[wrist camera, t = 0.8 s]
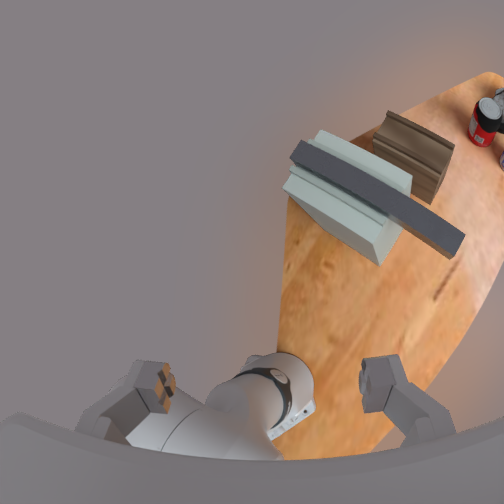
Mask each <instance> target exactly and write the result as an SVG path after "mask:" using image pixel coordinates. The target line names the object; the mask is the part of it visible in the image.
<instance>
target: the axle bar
mask: <svg viewBox="0 0 504 504" xmlns="http://www.w3.org/2000/svg"><path fill="white" fill-rule="evenodd" d="M290 159H291V160H292V161H293V162H294V163H295V165H296V166H297V167H299V168H301V169H303V170H305V171H307V172H309V173H310V174H312V175H314V176H316V177H318V178H320V179H322V180H323V181H325V182H327V183H329V184H331V185H332V186H334V187H336V188H338V189H339V190H341V191H343V192H345V193H346V194H348V195H350V196H352V197H353V198H355V199H357V200H358V201H360V202H362V203H363V204H365V205H367V206H368V207H370V208H372V209H373V210H375V211H377V212H378V213H380V214H382V215H383V216H385V217H386V218H388V219H390V220H391V221H393V222H394V223H396V224H397V225H399V226H401V227H402V228H404V229H405V230H407V231H408V232H410V233H411V234H413V235H414V236H416V237H417V238H419V239H420V240H422V241H423V242H425V243H426V244H428V245H429V246H431V247H432V248H434V249H435V250H436V251H438V252H439V253H441V254H442V255H444V256H445V257H446V258H448V259H449V260H450V259H451V258H453V257H454V256H455V254H456V252H457V250H458V249H459V247H460V245H461V243H462V241H463V239H464V237H465V234H464V233H463V232H461V231H460V230H458V229H457V228H455V227H454V226H453V225H451V224H450V223H448V222H447V221H445V220H444V219H442V218H441V217H439V216H438V215H436V214H435V213H433V212H432V211H430V210H428V209H427V208H425V207H424V206H422V205H421V204H419V203H417V202H416V201H414V200H413V199H411V198H409V197H408V196H406V195H404V194H403V193H401V192H399V191H398V190H396V189H394V188H393V187H391V186H389V185H387V184H386V183H384V182H382V181H380V180H379V179H377V178H375V177H373V176H371V175H370V174H368V173H366V172H364V171H362V170H360V169H359V168H357V167H355V166H353V165H351V164H349V163H347V162H345V161H343V160H341V159H339V158H337V157H335V156H333V155H331V154H329V153H327V152H325V151H323V150H321V149H319V148H317V147H315V146H313V145H311V144H309V143H307V142H305V141H302V140H301V141H300V143H299V144H298V146H297V147H296V149H295V150H294V152H293V153H292V155H291V156H290Z"/></svg>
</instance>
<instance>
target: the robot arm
mask: <svg viewBox="0 0 504 504" xmlns="http://www.w3.org/2000/svg"><path fill="white" fill-rule="evenodd" d="M361 366H362V370H361V371H360V374H359V389H360V393H361V394H362V395H363V398H362V405H363V410H364V413H372V412H380V411H383V412H384V413H385V414H386V416H387V417H388V418H389V419H390V420H391V421H392V422H393V423H394V424H395V425H396V426H397V427H398V428H399V429H400V430H401V431H402V432H403V433H404V435H405V436H406V438H405V440H404V441H403V443H402V444H401V446H400V448H396V449H391V450H385V451H379V452H373V453H366V454H359V455H352V456H343V457H333V458H322V459H306V460H284V457H283V454H282V453H281V452H280V451H279V450H278V449H277V448H276V447H275V446H274V444H273V443H272V442H271V441H272V440H273V439H275V438H276V437H278V436H280V435H281V434H283V433H284V432H285V431H287V430H289V429H290V428H291V427H293V426H294V425H296V424H297V423H299V422H300V421H302V420H303V419H305V418H306V417H307V416H309V415H310V414H312V413H313V412H314V411H315V410H316V405H315V401H314V398H313V389H314V383H313V378H312V375H311V372H310V370H309V369H308V367H307V366H306V365H305V364H304V363H303V362H302V361H301V360H300V359H299V358H297V357H295V356H293V355H291V354H287V353H273V354H269V355H266V356H259V355H252V356H250V357H249V358H248V360H247V361H246V364H245V365H244V366H243V367H242V368H241V372H240V373H239V374H238V375H236V376H235V377H234V378H233V379H231V380H229V381H227V382H224V383H222V384H220V385H218V386H216V387H215V388H214V389H213V390H212V391H211V392H210V394H209V395H208V397H207V399H206V403H205V405H204V404H202V403H201V402H199V401H197V400H196V399H194V398H193V397H191V396H190V395H188V394H187V393H185V392H184V391H182V390H180V389H179V388H177V387H176V383H175V378H174V375H173V374H171V373H170V372H169V371H170V366H169V364H168V363H162V362H151V361H142V360H136V361H135V362H134V363H133V365H132V367H131V369H130V371H129V373H128V375H126V376H124V377H122V378H121V379H119V380H118V381H117V382H116V383H115V384H114V385H113V387H112V388H111V389H110V391H109V393H108V395H106V396H105V397H103V398H102V399H101V400H99V401H98V402H96V403H95V404H93V405H92V406H90V407H89V408H88V409H86V410H85V411H84V412H83V414H82V416H81V418H80V420H79V422H78V424H77V426H76V428H75V430H74V431H73V430H69V429H66V428H63V427H60V426H58V425H55V424H52V423H49V422H47V421H44V420H41V419H39V418H36V417H33V416H31V415H29V414H26V413H23V412H17V413H15V414H13V415H11V416H10V417H8V418H6V419H5V420H3V421H2V422H0V504H504V416H503V417H501V418H498V419H496V420H493V421H491V422H488V423H485V424H482V425H480V426H477V427H474V428H471V429H468V430H465V431H462V432H459V433H456V430H455V427H454V424H453V421H452V418H451V416H450V413H449V410H447V409H446V408H445V407H443V406H442V405H441V404H439V403H438V402H437V401H435V400H434V399H433V398H432V397H430V396H429V395H428V394H426V393H425V392H424V391H422V390H421V389H420V388H418V387H417V386H416V385H414V384H413V383H412V382H411V383H408V380H407V377H406V374H405V371H404V368H403V366H402V363H401V360H400V357H399V355H398V354H395V355H388V356H379V357H371V358H363V360H362V364H361ZM304 410H307V412H305V411H304Z"/></svg>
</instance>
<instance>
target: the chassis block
mask: <svg viewBox="0 0 504 504" xmlns="http://www.w3.org/2000/svg"><path fill="white" fill-rule="evenodd" d="M386 115H387V117H386V118H385V120H384V122H383V123H382V125H381V127H380V129H379V130H378V132H377V133H376V132H375V133H374V135H373V138H374V139H373V140H372V142H373V147H374V153H375V155H376V156H378V157H379V158H381V159H383V160H385V161H387V162H389V163H391V164H392V165H394V166H396V167H398V168H400V169H402V170H403V171H405V172H407V173H409V174H410V175H412V184H411V192H410V193H412V194H413V195H415V196H416V197H418V198H420V199H421V200H423V201H425V202H426V203H428V204H429V205H431V203H432V201H433V199H434V197H435V195H436V193H437V191H438V189H439V187H440V185H441V183H442V181H443V179H444V177H445V174H446V171H447V168H448V166H449V163H450V160H451V157H452V154H453V151H454V147H455V145H454V144H453V143H451V142H449V141H448V140H446V139H444V138H442V137H440V136H439V135H437V134H435V133H433V132H431V131H429V130H427V129H426V128H424V127H422V126H420V125H418V124H416V123H414V122H412V121H410V120H408V119H406V118H404V117H401V116H399V115H397V114H395V113H393V112H391V111H388V112H387V113H386Z"/></svg>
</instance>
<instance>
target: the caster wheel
mask: <svg viewBox="0 0 504 504" xmlns="http://www.w3.org/2000/svg"><path fill="white" fill-rule="evenodd" d="M493 100H495V101H496V102H497V103H498V104H499V106H500V107H501V111H502V121H501V124H500V126H499V128H498V130H497V131H498V132H499V133H502V134H504V88H501V89H497V90H496V93H495V97H494V98H493Z"/></svg>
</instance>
